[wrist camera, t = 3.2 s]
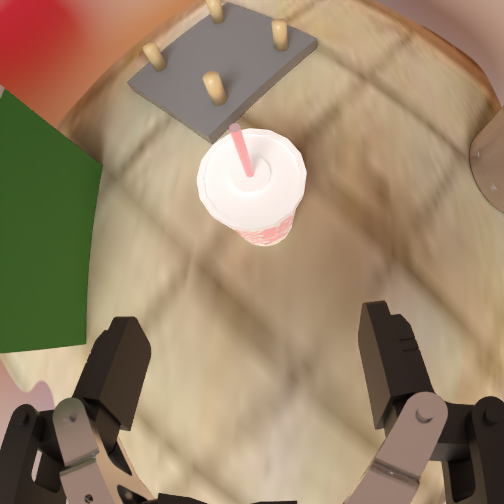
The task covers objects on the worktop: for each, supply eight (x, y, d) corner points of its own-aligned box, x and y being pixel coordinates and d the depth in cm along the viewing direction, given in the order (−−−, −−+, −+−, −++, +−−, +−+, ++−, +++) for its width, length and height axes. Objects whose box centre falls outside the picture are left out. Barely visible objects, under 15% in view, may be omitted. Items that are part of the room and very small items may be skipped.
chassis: (229, 10, 31) (222, -19, 26) (316, 48, 28) (317, 14, 24) (132, 90, 30) (112, 63, 26) (212, 144, 28) (197, 115, 23)
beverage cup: (216, 240, 26) (140, 174, 13) (243, 174, 27) (200, 64, 13) (287, 266, 25) (280, 219, 11) (312, 197, 26) (328, 91, 12)
